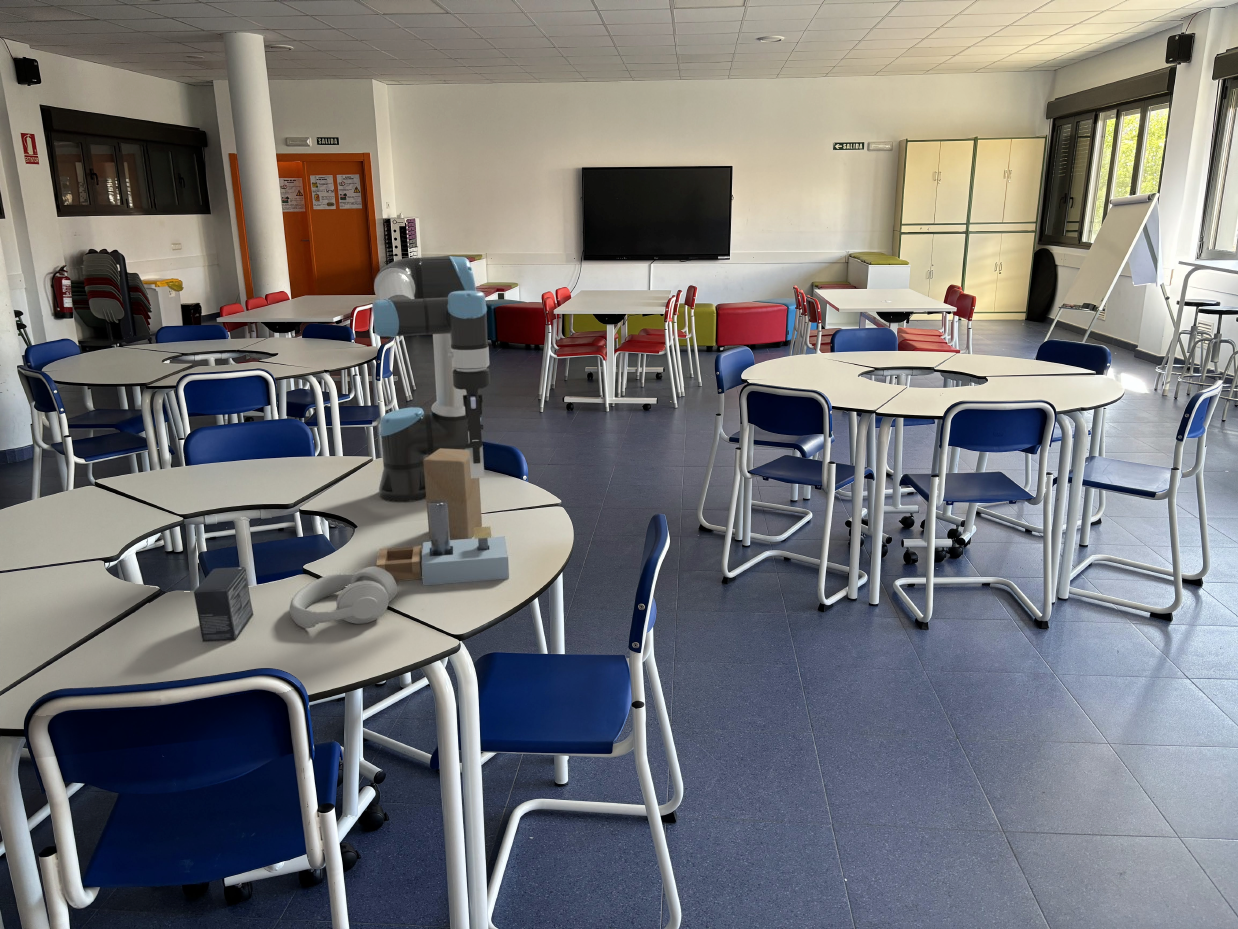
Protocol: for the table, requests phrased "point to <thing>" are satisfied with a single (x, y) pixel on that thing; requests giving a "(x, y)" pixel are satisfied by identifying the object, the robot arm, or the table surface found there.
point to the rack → (401, 562)
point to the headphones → (346, 597)
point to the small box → (223, 604)
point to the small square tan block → (482, 536)
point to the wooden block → (454, 490)
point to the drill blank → (439, 528)
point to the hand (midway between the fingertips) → (476, 468)
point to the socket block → (466, 562)
